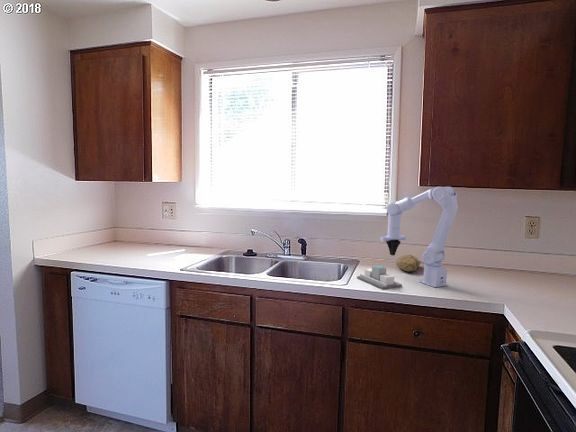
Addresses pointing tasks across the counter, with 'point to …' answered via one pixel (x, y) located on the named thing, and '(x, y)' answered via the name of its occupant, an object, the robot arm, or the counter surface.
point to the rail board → (384, 282)
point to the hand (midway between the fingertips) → (392, 254)
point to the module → (378, 272)
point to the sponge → (408, 263)
